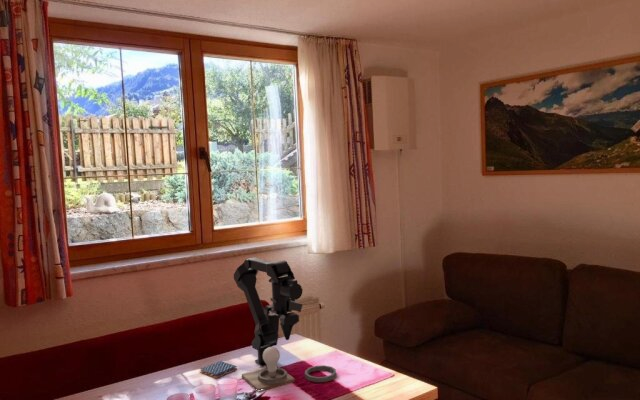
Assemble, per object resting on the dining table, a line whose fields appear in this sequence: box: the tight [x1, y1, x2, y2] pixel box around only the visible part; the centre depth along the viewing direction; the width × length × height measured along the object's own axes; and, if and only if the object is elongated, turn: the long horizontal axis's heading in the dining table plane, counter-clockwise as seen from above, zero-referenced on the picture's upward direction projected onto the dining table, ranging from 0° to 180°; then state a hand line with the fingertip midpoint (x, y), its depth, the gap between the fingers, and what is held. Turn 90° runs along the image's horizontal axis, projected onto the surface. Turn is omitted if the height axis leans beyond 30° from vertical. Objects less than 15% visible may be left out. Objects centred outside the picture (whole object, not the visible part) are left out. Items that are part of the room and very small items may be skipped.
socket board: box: [241, 365, 296, 391], centre depth 178 cm, size 15×14×2 cm
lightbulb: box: [263, 346, 281, 378], centre depth 177 cm, size 6×6×11 cm
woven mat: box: [199, 360, 238, 379], centre depth 188 cm, size 10×11×2 cm
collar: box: [304, 365, 337, 383], centre depth 180 cm, size 11×11×2 cm
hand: (281, 336), depth 185 cm, fingers open, 9 cm apart
